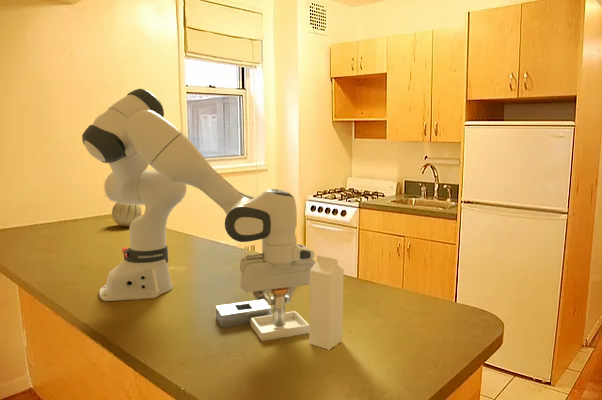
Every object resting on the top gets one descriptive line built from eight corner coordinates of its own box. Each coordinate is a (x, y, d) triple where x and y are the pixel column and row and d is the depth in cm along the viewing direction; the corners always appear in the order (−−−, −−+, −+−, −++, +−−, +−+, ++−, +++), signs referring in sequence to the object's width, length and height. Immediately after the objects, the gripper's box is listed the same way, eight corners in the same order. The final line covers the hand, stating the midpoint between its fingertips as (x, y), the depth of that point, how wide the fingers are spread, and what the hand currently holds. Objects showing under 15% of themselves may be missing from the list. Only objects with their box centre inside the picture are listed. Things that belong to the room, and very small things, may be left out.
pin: (274, 328, 119) (274, 291, 118) (268, 322, 123) (268, 286, 122) (289, 326, 121) (290, 289, 119) (283, 319, 125) (284, 284, 123)
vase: (260, 305, 139) (258, 286, 138) (246, 303, 142) (244, 284, 141) (270, 299, 143) (269, 281, 143) (256, 297, 146) (255, 279, 145)
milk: (322, 335, 119) (323, 252, 116) (342, 342, 116) (344, 256, 112) (308, 344, 114) (309, 257, 111) (329, 351, 111) (330, 261, 107)
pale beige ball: (106, 228, 241) (105, 200, 238) (122, 222, 255) (120, 195, 253) (133, 229, 238) (131, 201, 236) (147, 224, 253) (145, 196, 250)
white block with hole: (221, 327, 123) (221, 315, 123) (216, 317, 129) (215, 305, 129) (271, 319, 128) (271, 307, 128) (263, 310, 135) (263, 299, 134)
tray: (261, 341, 115) (261, 333, 115) (250, 325, 125) (250, 317, 124) (309, 333, 120) (309, 325, 120) (295, 318, 129) (295, 310, 129)
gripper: (243, 259, 112) (244, 313, 114) (320, 251, 120) (319, 302, 122) (236, 252, 118) (237, 304, 120) (310, 245, 126) (309, 294, 128)
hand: (279, 303), depth 121 cm, fingers closed on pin, 3 cm apart
